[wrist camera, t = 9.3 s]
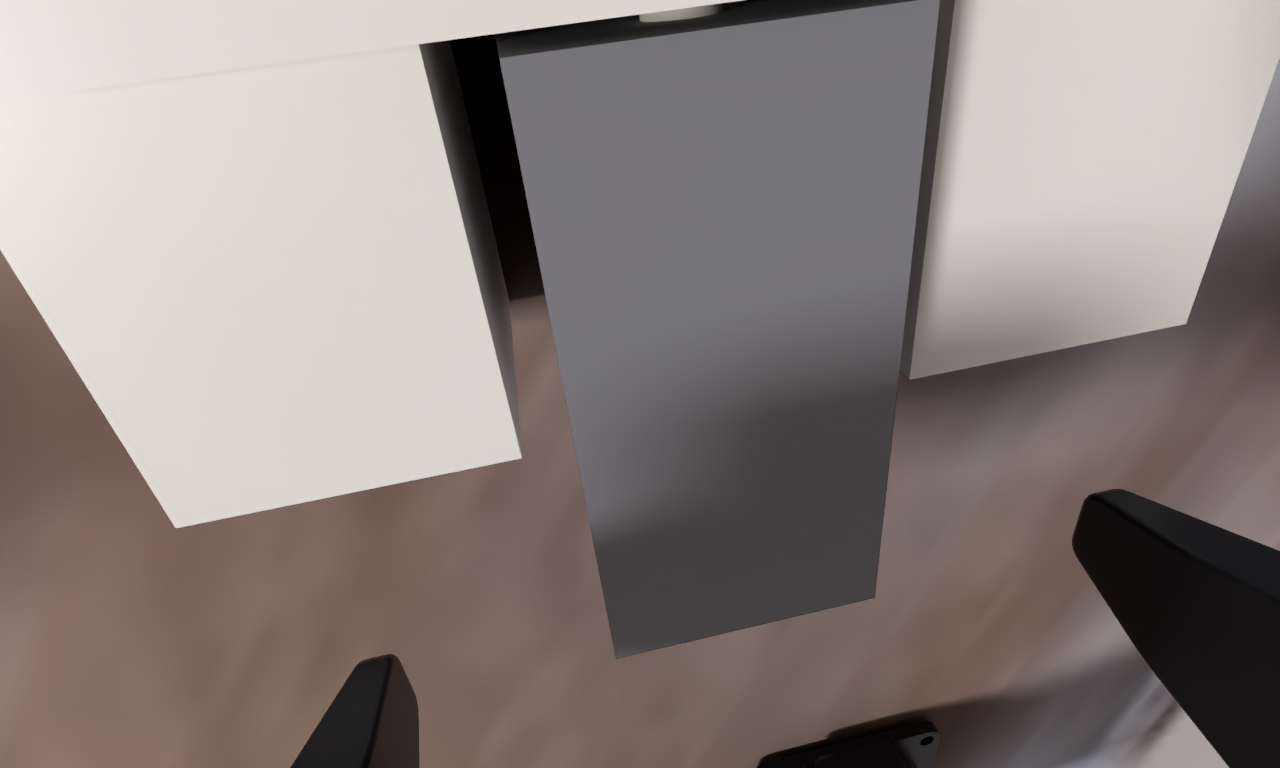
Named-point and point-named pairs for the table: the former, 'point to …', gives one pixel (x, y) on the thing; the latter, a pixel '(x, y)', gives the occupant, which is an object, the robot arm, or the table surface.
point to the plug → (727, 292)
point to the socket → (462, 230)
